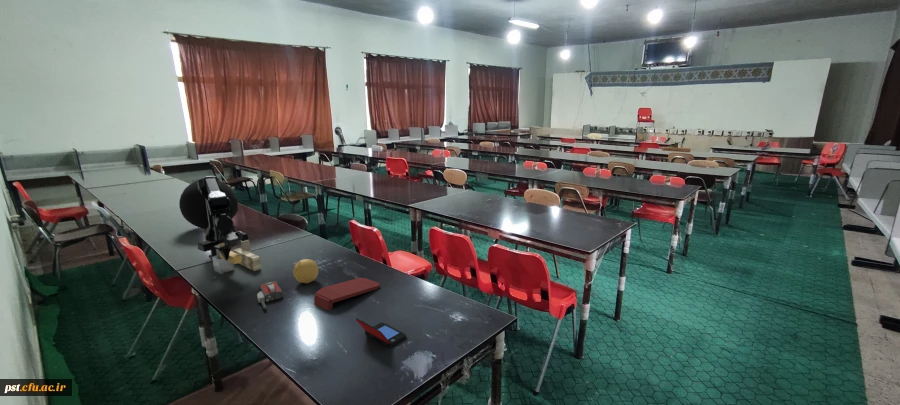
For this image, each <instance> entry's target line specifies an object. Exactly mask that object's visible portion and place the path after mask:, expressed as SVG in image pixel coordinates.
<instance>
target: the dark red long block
mask: <svg viewBox="0 0 900 405" xmlns="http://www.w3.org/2000/svg"><path fill="white" fill-rule="evenodd" d="M380 288H381V286H380V283H379V282H378V281H375V280H371V279H369V278H364V277H357V278H354V279H350V280H345V281H343V282H338V283H336V284H335V283H334V284H331V285H329V286H324V287H321V288H320V289H319V290H318V291H316V292H315V294H314V298H313V299H314V300H313V301H314V302H313V304H314V305H315V306H317V307H318V308H321V309H323V310H325V311H328V312H329V311H330V310H332V309H334V308H333V305H334V303H337V302H340V301H343V300H344V301H345V300H346V299H349V298H352V297H356V296H359V295H362V294H366V293H369V292H372V291H375V290H378V289H380Z"/></svg>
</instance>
